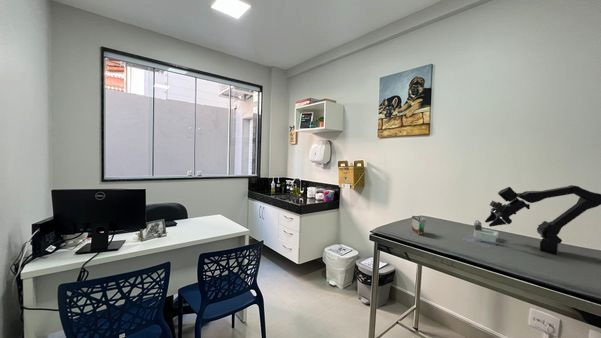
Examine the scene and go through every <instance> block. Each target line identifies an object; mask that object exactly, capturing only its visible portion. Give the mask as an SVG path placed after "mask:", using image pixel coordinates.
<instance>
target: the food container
mask: <svg viewBox="0 0 601 338" xmlns="http://www.w3.org/2000/svg"><path fill="white" fill-rule="evenodd" d="M426 220H427V219H426V218H425V217H422V216H419V215H411V231H412V232H413V233H415V234H416V235H417V236H423V235H424V233H425V232H424V231H425V225H426V223H427V221H426Z"/></svg>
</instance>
